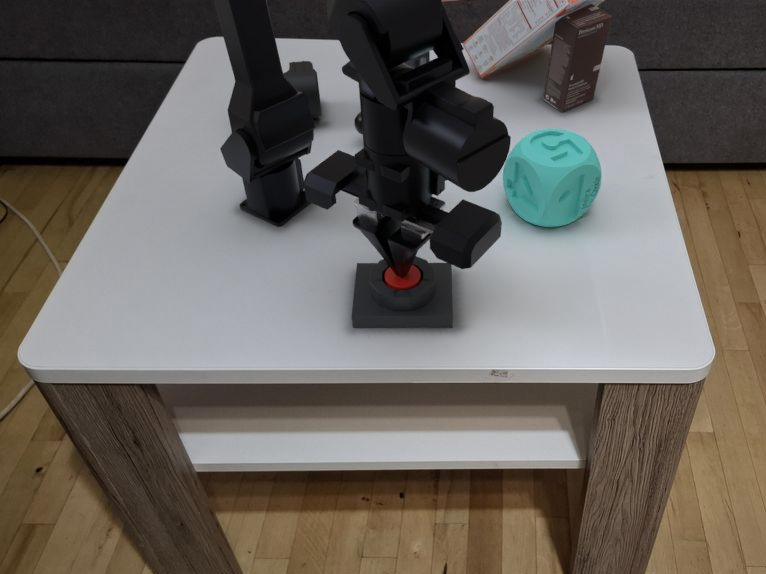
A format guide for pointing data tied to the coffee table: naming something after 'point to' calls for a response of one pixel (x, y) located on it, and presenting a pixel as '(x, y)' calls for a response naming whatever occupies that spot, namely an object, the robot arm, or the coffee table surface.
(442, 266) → the control block
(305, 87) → the dark grey block
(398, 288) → the button
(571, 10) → the cracker box
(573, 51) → the box
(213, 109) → the coffee table surface
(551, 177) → the decorative dice
